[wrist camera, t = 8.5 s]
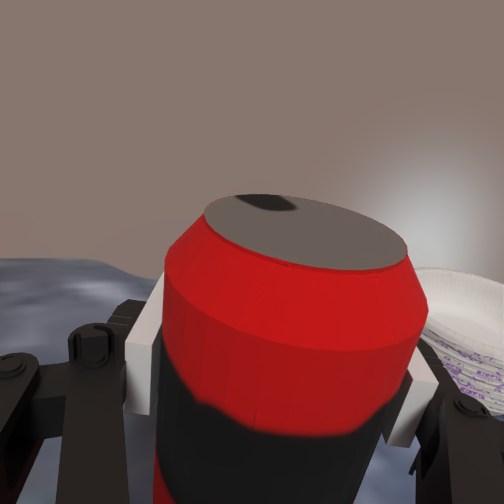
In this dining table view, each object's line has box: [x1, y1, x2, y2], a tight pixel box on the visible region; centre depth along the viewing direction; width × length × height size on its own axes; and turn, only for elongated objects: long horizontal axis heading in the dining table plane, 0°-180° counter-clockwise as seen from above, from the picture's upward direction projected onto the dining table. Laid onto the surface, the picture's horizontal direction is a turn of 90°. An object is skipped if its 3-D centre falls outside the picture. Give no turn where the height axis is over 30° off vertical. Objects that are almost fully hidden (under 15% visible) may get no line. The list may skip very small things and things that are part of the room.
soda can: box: [153, 194, 429, 504], centre depth 13 cm, size 8×8×12 cm
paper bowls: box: [414, 267, 504, 416], centre depth 33 cm, size 15×15×8 cm
